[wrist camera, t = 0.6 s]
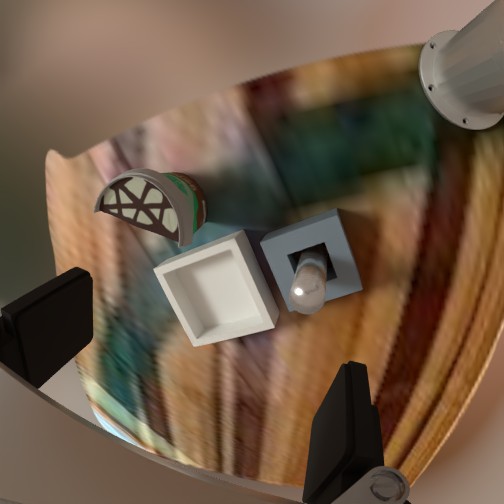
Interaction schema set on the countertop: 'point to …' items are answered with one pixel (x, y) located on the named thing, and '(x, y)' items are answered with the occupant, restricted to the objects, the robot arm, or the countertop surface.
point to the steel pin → (310, 280)
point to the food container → (156, 203)
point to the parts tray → (218, 290)
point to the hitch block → (306, 235)
